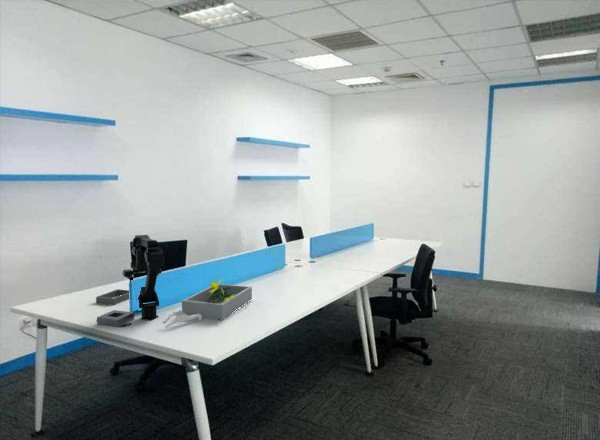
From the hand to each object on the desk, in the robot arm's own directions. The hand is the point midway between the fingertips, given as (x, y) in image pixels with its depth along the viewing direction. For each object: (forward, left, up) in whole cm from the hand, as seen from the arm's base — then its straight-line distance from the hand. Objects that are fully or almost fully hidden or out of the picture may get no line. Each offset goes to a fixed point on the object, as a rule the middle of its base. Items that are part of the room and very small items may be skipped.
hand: (142, 287), depth 226 cm
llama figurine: (-30, +10, -13) cm, 35 cm away
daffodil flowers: (-33, -20, -12) cm, 40 cm away
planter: (-35, -20, -13) cm, 42 cm away
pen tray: (+28, -14, -13) cm, 34 cm away
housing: (+2, +18, -13) cm, 22 cm away
